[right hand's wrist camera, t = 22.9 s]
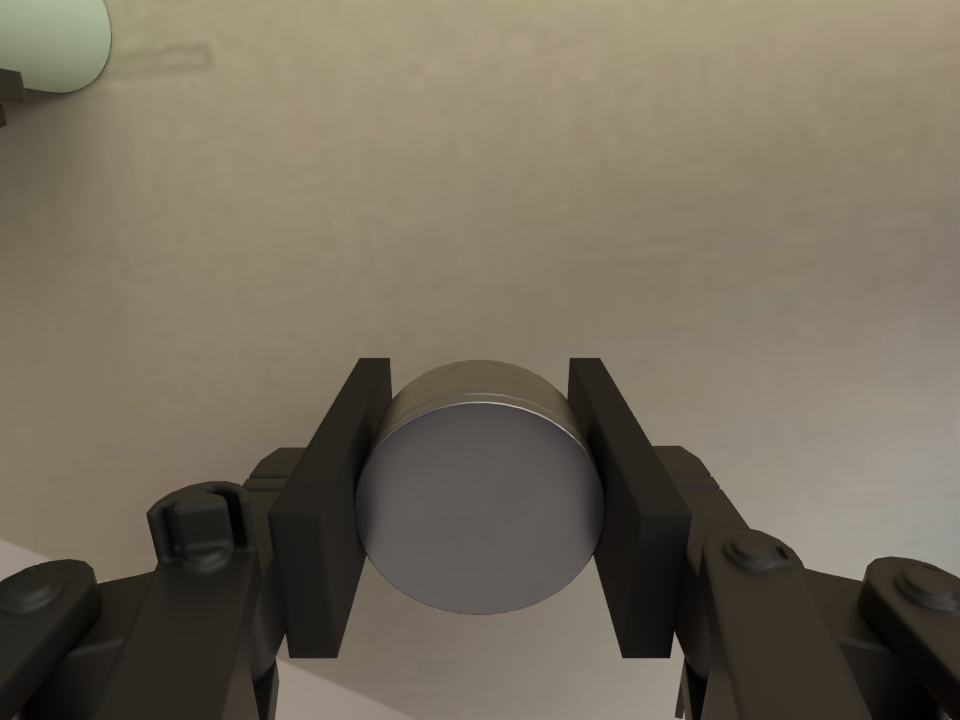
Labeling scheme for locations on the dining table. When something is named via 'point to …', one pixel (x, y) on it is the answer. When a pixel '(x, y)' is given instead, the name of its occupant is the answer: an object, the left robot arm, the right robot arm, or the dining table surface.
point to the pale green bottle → (54, 42)
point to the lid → (479, 490)
